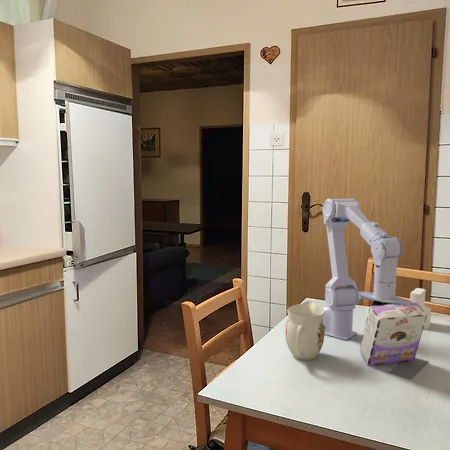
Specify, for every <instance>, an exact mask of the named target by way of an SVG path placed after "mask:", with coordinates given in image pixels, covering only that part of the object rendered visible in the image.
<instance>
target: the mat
mask: <svg viewBox="0 0 450 450" xmlns="http://www.w3.org/2000/svg"><path fill="white" fill-rule="evenodd" d="M428 363H429V360H426V359H422V358H418V357H415V359H414V361H408V362H399V363H397V364H396V365H395V366H394V367H393V368H392V369H390V370H389V371H388V373H389V374H393V375H398V376H400V377H403V378H407V379H410V380H411V379H413V378H414V377H415V376H416V375H417V374H418V373H419V371H421V370H422V369H423V368H424V367H425V366H426V365H427V364H428Z"/></svg>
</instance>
